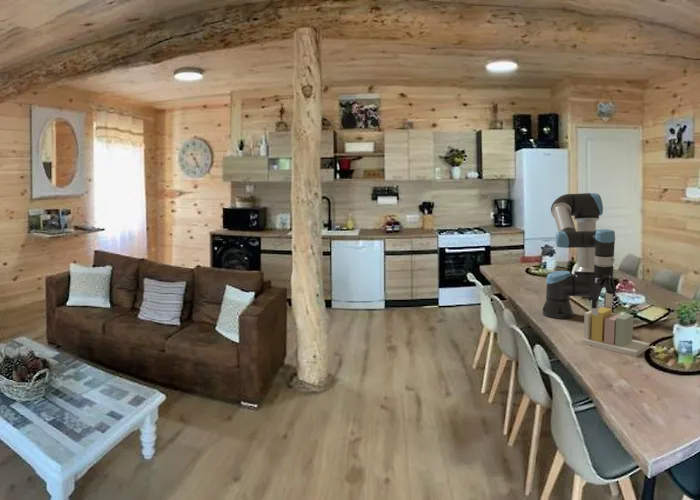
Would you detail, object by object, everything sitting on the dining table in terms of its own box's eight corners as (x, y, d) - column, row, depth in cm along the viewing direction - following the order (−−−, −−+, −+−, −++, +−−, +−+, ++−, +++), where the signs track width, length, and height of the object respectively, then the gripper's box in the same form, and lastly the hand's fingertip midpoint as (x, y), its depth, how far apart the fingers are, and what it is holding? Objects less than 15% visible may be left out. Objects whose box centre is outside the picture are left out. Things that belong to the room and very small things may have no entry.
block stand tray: (582, 343, 213) (583, 313, 211) (597, 335, 222) (598, 306, 219) (635, 356, 196) (637, 324, 194) (649, 347, 204) (651, 316, 202)
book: (591, 339, 212) (592, 311, 210) (600, 334, 218) (601, 306, 216) (601, 341, 209) (602, 313, 207) (610, 336, 214) (611, 308, 212)
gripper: (599, 271, 197) (597, 320, 201) (625, 261, 212) (622, 306, 216) (581, 268, 203) (579, 316, 207) (607, 259, 218) (605, 303, 222)
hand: (601, 311), depth 212 cm, fingers open, 13 cm apart
